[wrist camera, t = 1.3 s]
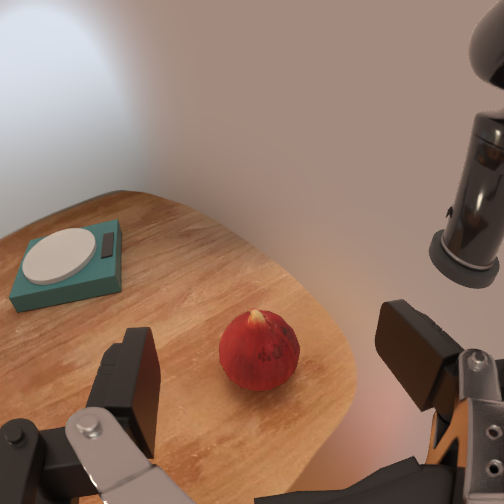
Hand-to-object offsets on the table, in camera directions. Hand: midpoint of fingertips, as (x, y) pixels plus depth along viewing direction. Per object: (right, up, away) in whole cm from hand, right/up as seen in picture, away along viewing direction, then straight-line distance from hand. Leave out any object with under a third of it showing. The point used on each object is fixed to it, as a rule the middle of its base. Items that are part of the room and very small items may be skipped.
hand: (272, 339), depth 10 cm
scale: (-23, +1, +25) cm, 34 cm away
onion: (0, -7, +15) cm, 16 cm away
